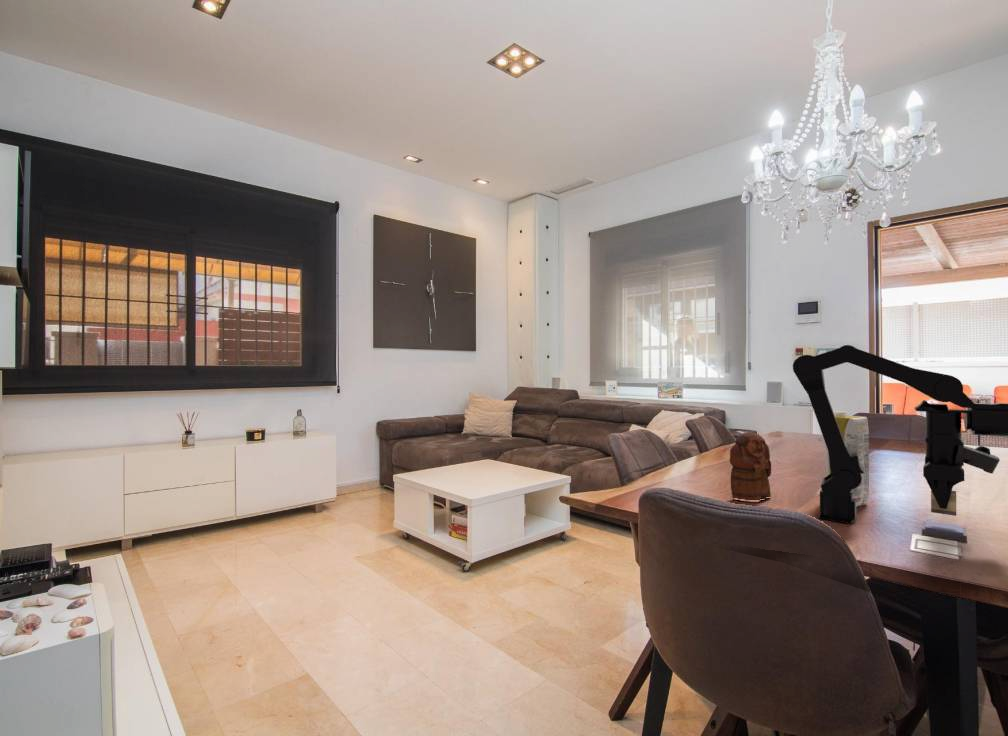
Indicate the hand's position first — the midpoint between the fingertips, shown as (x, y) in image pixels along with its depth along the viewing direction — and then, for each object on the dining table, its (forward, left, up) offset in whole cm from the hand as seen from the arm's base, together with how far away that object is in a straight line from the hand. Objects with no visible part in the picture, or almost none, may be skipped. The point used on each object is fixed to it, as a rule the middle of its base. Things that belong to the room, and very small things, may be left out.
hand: (943, 506), depth 107 cm
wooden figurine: (-39, +4, -6) cm, 40 cm away
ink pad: (0, 0, -6) cm, 6 cm away
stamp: (0, 0, -1) cm, 1 cm away
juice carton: (-19, +15, -6) cm, 25 cm away
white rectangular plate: (-1, -11, -6) cm, 13 cm away
